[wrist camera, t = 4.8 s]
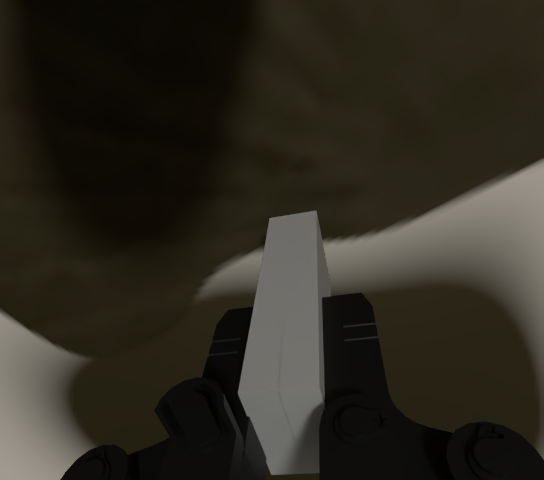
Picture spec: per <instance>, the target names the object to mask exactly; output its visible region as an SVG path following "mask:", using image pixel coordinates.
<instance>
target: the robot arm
mask: <svg viewBox="0 0 544 480" xmlns="http://www.w3.org/2000/svg"><path fill="white" fill-rule="evenodd" d="M155 412H156V414H157V416H158V418H159V419H160V421H161V423H162V424H163V426H164V428H165V429H166V431H167V433H168V434H169V436H170V437H169V438H168V439H166V440H164V441H162V442H160V443H158V444H155V445H153V446H150V447H148V448H145V449H142V450H140V451H137V452H134V453H132V454H129V455H127V454H126V453H125V451H124V450H123V449H122V448H120V447H118V446H116V445H102V446H99V447H97V448H94V449H91V450H89V451H88V452H86V453H85V454H84V455H82V456H81V457H79V458H78V459H77V460H76V461H75V462H74V463H73V465H72V466H71V467H70V468H69V469H68V470H67V471H66V472H65V474H64V475H63V477H62V478H61V480H264V479H265V469H266V463H267V465H268V467H269V470H270V473H271V475H280V474H281V475H282V474H307V473H319V474H320V480H544V460H543V459H542V457H541V456H540V454H539V453H538V452H537V451H536V449H535V448H534V447H533V446H532V445H531V444H530V443H528V442H527V441H526V440H525V439H524V438H523V437H522V436H521V435H520V434H518V433H516V432H514V431H512V430H510V429H509V428H507V427H505V426H503V425H497V424H493V423H489V422H476V423H468V424H466V425H464V426H463V427H461V428H459V429H457V430H455V432H454V433H451V432H446V431H442V430H438V429H434V428H430V427H427V426H424V425H421V424H418V423H415V422H414V421H412V420H411V419H409V418H407V417H406V416H404V415H403V414H402V413H401V412H400V411H399V410H398V409H397V408H396V406H395V405H394V403H393V402H392V400H391V398H390V395H389V392H388V387H387V382H386V377H385V371H384V367H383V361H382V355H381V350H380V344H379V339H378V334H377V328H376V323H375V318H374V312H373V307H372V305H371V304H370V302H369V301H368V300H367V299H366V298H365V297H364V295H363V294H362V293H355V294H347V295H338V296H331V294H330V278H329V274H328V268H327V263H326V258H325V253H324V247H323V242H322V237H321V232H320V227H319V221H318V216H317V211H311V212H305V213H299V214H293V215H287V216H280V217H274V218H270V220H269V225H268V231H267V236H266V242H265V247H264V253H263V258H262V264H261V269H260V275H259V280H258V286H257V291H256V297H255V302H254V307H248V308H240V309H232V310H228V311H227V312H226V313H225V315H224V316H223V317H222V318H221V320H220V321H219V322H218V324H217V326H216V329H215V333H214V337H213V343H212V344H211V347H210V351H209V357H208V358H207V361H206V365H205V369H204V372H203V376H202V378H193V379H189V380H186V381H183V382H181V383H180V384H178V385H176V386H174V387H173V388H171V389H170V390H169V391H168V392H167V393H166V394H165V395H164V396H163V397H162V398H161V400H160V401H159V403H158V405H157V407H156V408H155Z"/></svg>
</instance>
